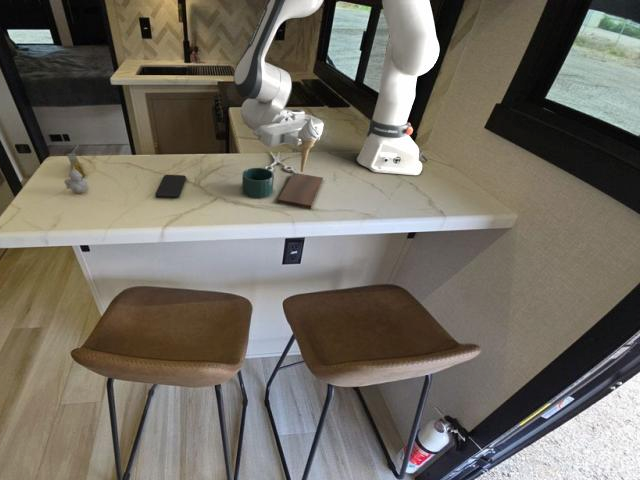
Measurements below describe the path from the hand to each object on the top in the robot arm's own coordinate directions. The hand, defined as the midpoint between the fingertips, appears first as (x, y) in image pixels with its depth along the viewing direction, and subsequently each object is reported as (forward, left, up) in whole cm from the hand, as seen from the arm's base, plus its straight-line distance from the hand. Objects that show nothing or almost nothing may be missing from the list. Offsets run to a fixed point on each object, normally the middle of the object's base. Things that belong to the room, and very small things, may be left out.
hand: (309, 140), depth 93 cm
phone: (+40, +9, -17) cm, 44 cm away
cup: (+14, +1, -17) cm, 22 cm away
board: (+1, -4, -17) cm, 17 cm away
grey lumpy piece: (+65, +22, -17) cm, 70 cm away
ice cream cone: (+1, -1, -9) cm, 9 cm away
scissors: (+14, -23, -17) cm, 31 cm away
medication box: (+75, +10, -17) cm, 77 cm away
